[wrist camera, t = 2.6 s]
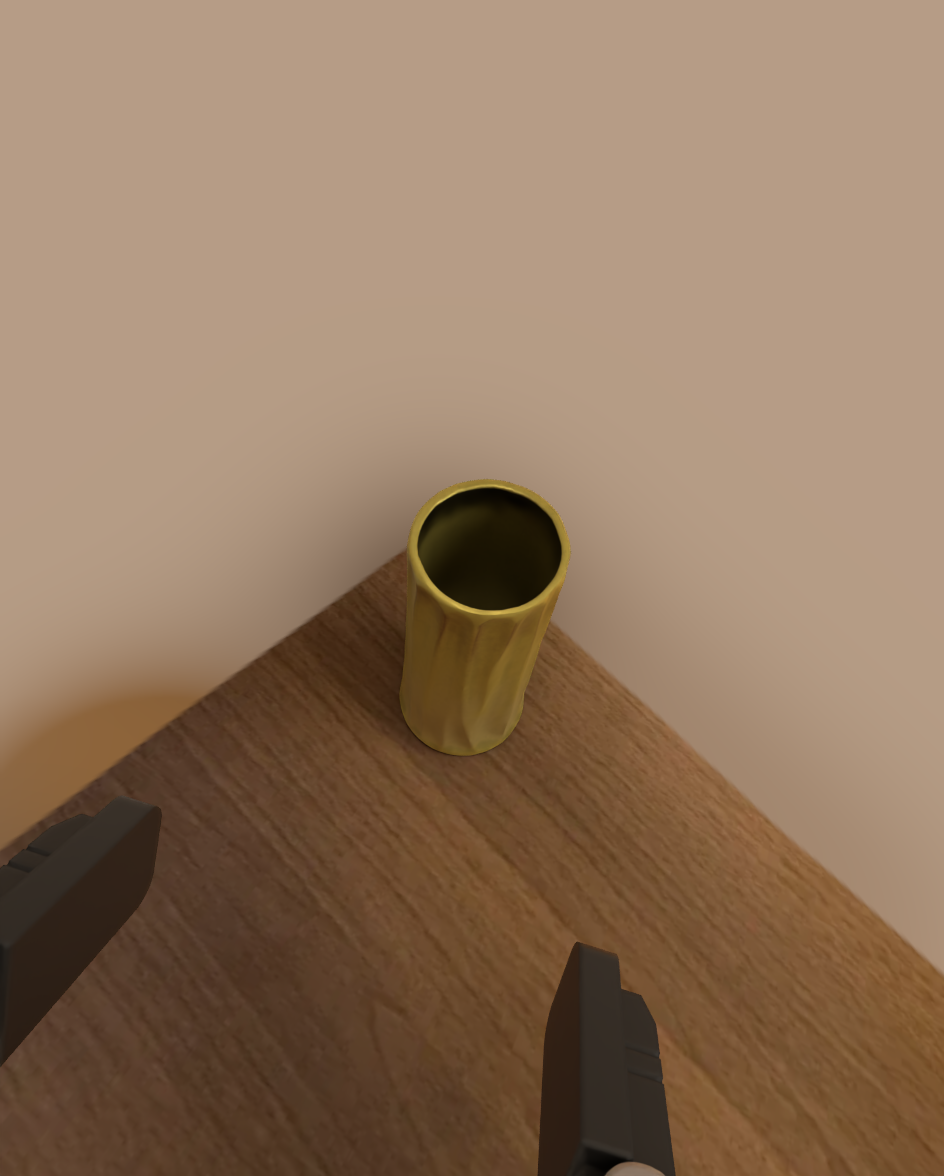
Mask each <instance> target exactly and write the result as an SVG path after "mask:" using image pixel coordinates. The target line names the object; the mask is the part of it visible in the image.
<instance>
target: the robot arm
mask: <svg viewBox="0 0 944 1176" xmlns="http://www.w3.org/2000/svg"><path fill="white" fill-rule="evenodd" d="M161 817H162V812H161V809H160V808H159V807H157V806H154V805H151V804H148V803H144V802H141V801H138V800H135V799H132V798H129V797H125V796H119V797H117V798H115V799H114V800H113V801H112V802H110V803H109V804H108V805H107V806H106V807H105V808H103V809H102V810H101V811H100V812H99V813H98V814H97V815H95V816H94V817H90V816H87V815H84V814H80V815H77V816H75V817H73V818H70V819H68V820H66V821H63V822H61V823H59V824H56V825H54V826H51V827H50V828H49V829H48V830H46V831H45V832H44V833H43V834H41V835H40V836H39V837H38V838H37V839H35V840H34V841H33V842H32V843H30V844H29V845H28V847H27V849H26V850H25V849H23V850H22V851H21V852H19V853H18V854H17V855H16V856H14V857H13V858H12V859H11V860H9V863H8V864H7V865H3V866H2V867H1V868H0V1067H1V1066H2V1064H3V1063H4V1062H5V1061H6V1060H7V1059H8V1057H9V1056H10V1055H11V1054H12V1053H13V1052H14V1050H15V1049H16V1048H17V1047H18V1046H19V1045H20V1044H21V1042H22V1041H23V1040H24V1039H25V1038H26V1037H27V1035H28V1034H29V1033H30V1032H31V1031H32V1030H33V1028H34V1027H35V1026H36V1025H37V1024H38V1023H39V1022H40V1020H41V1019H42V1018H43V1017H44V1016H45V1015H46V1013H47V1012H48V1011H49V1010H50V1009H51V1008H52V1006H53V1005H54V1004H55V1003H56V1002H57V1001H58V1000H59V998H60V997H61V996H62V995H63V994H64V993H65V991H66V990H67V989H68V988H69V987H70V986H71V984H72V983H73V982H74V981H75V980H76V979H77V978H78V976H79V975H80V974H81V973H82V972H83V971H84V969H85V968H86V967H87V966H88V965H89V964H90V962H91V961H92V960H93V959H94V958H95V957H96V956H97V954H98V953H99V952H100V951H101V950H102V949H103V947H104V946H105V945H106V944H107V943H108V942H109V940H110V939H111V938H112V937H113V936H114V935H115V934H116V932H117V931H118V930H119V929H120V928H121V927H122V925H123V924H124V923H125V922H126V921H127V920H128V918H129V917H130V916H131V915H132V914H133V913H134V911H135V910H136V909H137V908H138V906H139V905H140V904H141V902H142V900H143V899H144V897H145V895H146V893H147V891H148V889H149V886H150V884H151V881H152V877H153V873H154V866H155V859H156V852H157V845H158V838H159V831H160V825H161ZM659 1054H660V1052H659V1044H658V1036H657V1028H656V1023H655V1021H654V1019H653V1017H652V1016H651V1014H650V1012H649V1010H648V1008H647V1006H646V1004H645V1002H644V1000H643V998H642V996H641V995H639V994H636V993H633V992H629V991H626V990H623V989H621V983H620V970H619V959H618V956H617V954H614V953H611V952H608V951H605V950H602V949H599V948H596V947H592V946H589V945H586V944H583V943H580V942H576V943H575V945H574V946H573V949H572V951H571V954H570V957H569V959H568V962H567V965H566V968H565V970H564V973H563V976H562V979H561V981H560V984H559V987H558V990H557V992H556V995H555V998H554V1001H553V1003H552V1006H551V1010H550V1013H549V1017H548V1022H547V1027H546V1033H545V1041H544V1056H543V1077H542V1097H541V1117H540V1138H539V1158H538V1176H675V1168H674V1160H673V1152H672V1145H671V1137H670V1129H669V1121H668V1114H667V1106H666V1098H665V1090H664V1084H662V1079H663V1075H662V1067H661V1059H659Z"/></svg>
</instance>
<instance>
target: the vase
mask: <svg viewBox="0 0 944 1176" xmlns="http://www.w3.org/2000/svg"><path fill="white" fill-rule="evenodd" d="M570 554H571V551H570V542H569V538H568V535H567V532H566V530H565V527H564V524H563V522H562V520H561V518H560V516H559V514H558V513H557V512H556V511H555V509H554V508H553V507H552V506H551V505H550V504H549V503H548V502H547V501H546V500H544V499H543V498H542V497H541V496H539V495H538V494H536V493H535V492H533V491H531V490H529V489H527V488H525V487H522V486H519V485H516V484H513V483H510V482H506V481H501V480H492V479H483V480H474V481H467V482H462V483H459V484H455V485H453V486H450V487H448V488H446V489H444V490H442V491H440V492H439V493H437V494H436V495H435V496H433V497H432V498H431V499H430V500H429V501H428V502H427V503H426V504H425V505H424V506H423V507H422V508H421V509H420V510H419V512H418V513H417V515H416V517H415V519H414V521H413V524H412V526H411V529H410V533H409V538H408V544H407V614H406V639H405V657H404V667H403V677H402V681H401V685H400V691H399V699H400V706H401V710H402V713H403V716H404V719H405V721H406V723H407V725H408V726H409V728H410V729H411V731H412V732H413V733H414V734H415V735H416V736H417V737H418V738H419V739H420V740H421V741H422V742H423V743H425V744H426V745H428V746H429V747H431V748H433V749H435V750H437V751H439V752H443V753H446V754H451V755H458V756H468V755H475V754H479V753H483V752H485V751H488V750H490V749H492V748H494V747H496V746H497V745H499V744H501V743H502V742H503V741H504V740H505V739H506V738H507V737H508V736H509V735H510V733H511V732H512V731H513V729H514V728H515V726H516V725H517V723H518V721H519V719H520V716H521V714H522V709H523V702H524V692H525V689H526V687H527V684H528V682H529V679H530V677H531V673H532V670H533V667H534V664H535V661H536V658H537V654H538V651H539V648H540V644H541V640H542V638H543V636H544V634H545V631H546V629H547V626H548V624H549V621H550V618H551V616H552V613H553V610H554V607H555V604H556V602H557V599H558V595H559V593H560V590H561V588H562V586H563V583H564V580H565V576H566V571H567V567H568V564H569V560H570Z"/></svg>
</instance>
